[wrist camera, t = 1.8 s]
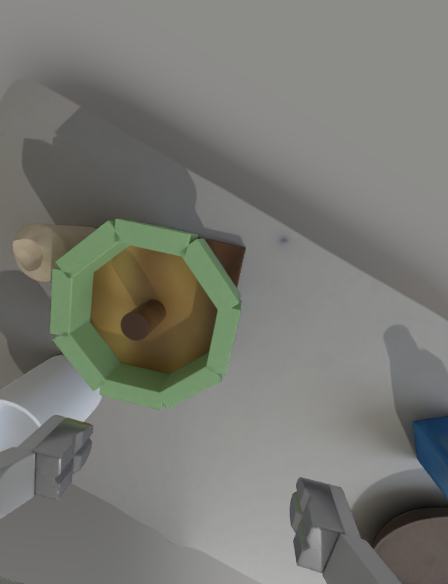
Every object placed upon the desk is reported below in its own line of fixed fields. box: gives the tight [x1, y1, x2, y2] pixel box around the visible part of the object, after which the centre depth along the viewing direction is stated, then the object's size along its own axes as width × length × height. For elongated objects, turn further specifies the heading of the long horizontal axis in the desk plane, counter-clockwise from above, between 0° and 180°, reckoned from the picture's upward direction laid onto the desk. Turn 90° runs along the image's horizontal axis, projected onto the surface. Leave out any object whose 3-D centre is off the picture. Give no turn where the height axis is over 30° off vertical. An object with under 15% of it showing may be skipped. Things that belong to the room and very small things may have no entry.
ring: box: [50, 218, 242, 410], centre depth 22 cm, size 16×16×3 cm
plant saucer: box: [371, 507, 448, 584], centre depth 36 cm, size 21×21×3 cm
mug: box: [0, 355, 102, 452], centre depth 33 cm, size 13×10×10 cm
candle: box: [12, 224, 97, 282], centre depth 27 cm, size 6×6×10 cm
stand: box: [90, 237, 246, 374], centre depth 26 cm, size 14×14×13 cm
